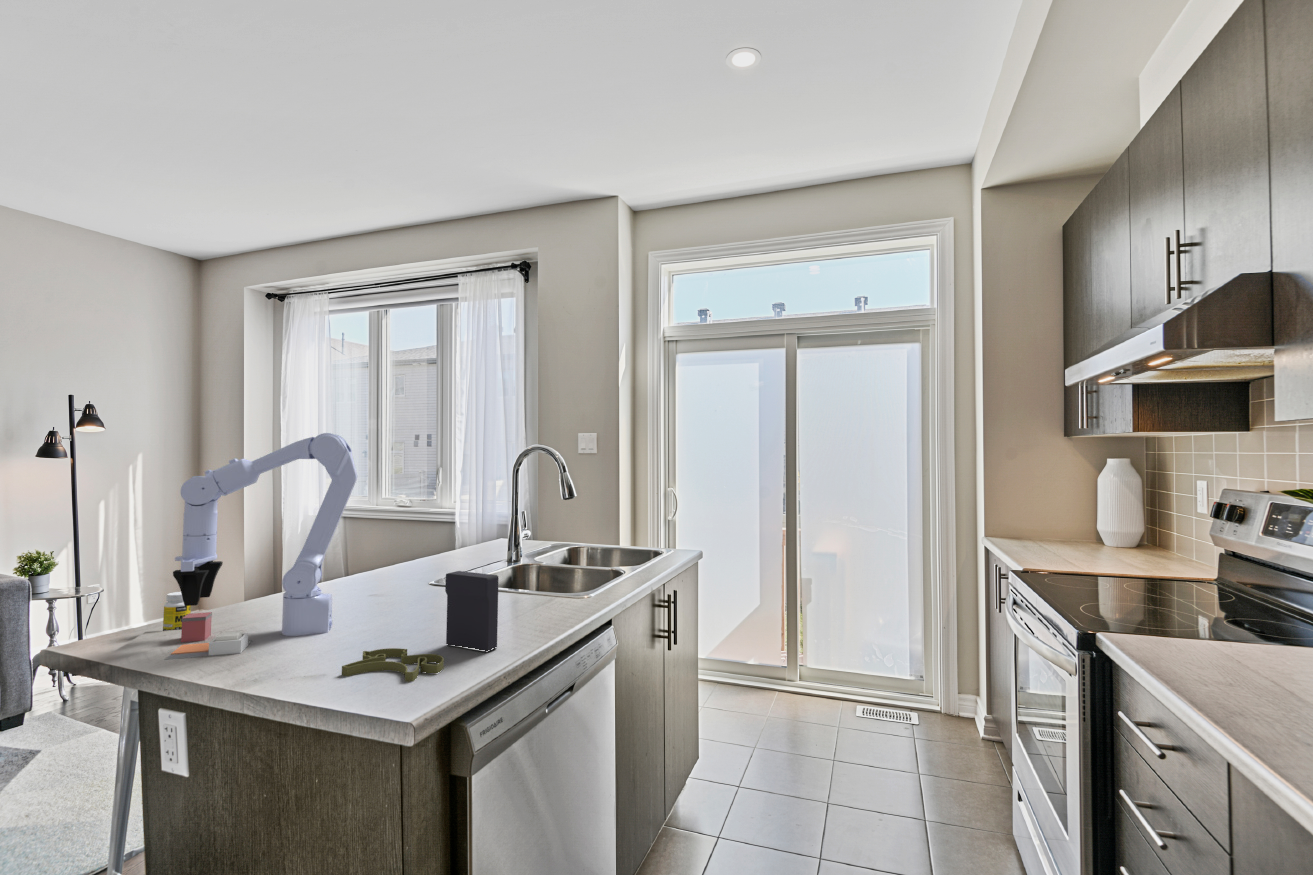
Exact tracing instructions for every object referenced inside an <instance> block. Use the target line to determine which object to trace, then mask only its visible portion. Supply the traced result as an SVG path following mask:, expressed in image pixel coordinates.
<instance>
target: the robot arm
mask: <svg viewBox="0 0 1313 875" xmlns="http://www.w3.org/2000/svg"><path fill="white" fill-rule="evenodd" d="M297 460H317V461H318V462H319V464H321V465H322V466H323V467H324V469H325V470H326V472H327V474H328V475H329V477H330V479H331V481H330V484H329V487H328V488H327V491H326V494H325V495H324V498H323V500H322V502H321V505H320V507H319V509H318V512H317V515H316V517H315V519H314V520H313V524H312V526H311V528H310V530H309V533H308V534H307V537H306V539H305V541H304V544H303V547H302V549H301V551H300V552H299V555H298V556H297V558H296V560H295V562H294V564H293V566H292V567H291V568H290V569H288V571H286V572H285V573H284V575H283V577H282V581H281V585H282V588H283V590H284V591H285V592H284V593H282V596H283V597H282V615H281V616H282V617H281V618H282V620H281V622H282V623H281V624H282V625H281V634H282V635H284V636H287V637H290V636H292V637H293V636H294V637H296V636H297V637H298V636H306V635H315V634H326V633H329V631H330V629H332V628H333V594H332V593H324V592H323V593H322V589H321V588H320V587H319V586H318V584H319V583H320V582H321V580H322V579H323V578H322V577H323V569H322V568H323V563H324V561H325V557H326V555H327V551H328V549H329V547H330V544H331V542H332V540H333V537H334V535H335V532H336V530H337V527H338V526H339V523H340V520H341V518H342V516H343V514H344V511H345V508H346V506H347V504H348V501H349V499H350V497H351V495H352V493H353V490H354V488H355V485H356V483H357V480H358V472H357V469H356V468H357V467H356V464H355V461H354V456H353V450H352V448H351V446H350V445H349V444H348V442H347V440H346V439H345V438H344V437H342V436H341V435H339V434H334V433H331V432H323V433H320V434H317V436H311V437H307V438H303V439H301V440H297V441H294V442H292V443H290V444H287V445H285V446H283V447H281V448H279V449H276V450H274V451H272V452H270V453H268V454H265V455H263V456H262V457H261V456H260V457H259V458H256V459H254V460H249V459H247V458H240V459H238V458H232V459H230V460H228V464H226V465H223V466H221V467H218V468H216V469H213V470H212V469H207V470H205V471H204V475H194V476H191V477H190V478H189V479H187V480H186V481H185V482H183V483H182V486H181V488H180V496H181V498H182V500H183V501H184V512H183V524H182V551H181V552H182V553H181V555H180V556H179V555H178V556H175V557H174V561H175V562H180V569H176V570H173V571H172V577H173V578H174V579H175V581H176V582H177V584H178V586H179V590H180V592H181V594H182V598H183V602H184V605H185V606H191V607H192V606H197V605H199V602H200V599H202V598H210V596H211V594H212V592H213V589H214V584H215V580H216V578H217V575H218V573H219V571H220V569H221V568H222V566H223V561H222V560H221V561H216V560H217V559H218V554H217V543H218V542H217V541H218V518H219V517H218V514H219V512H218V505H219V504H218V501H219V499H220V498H221V497H223V496H224V497H225V496H228V495H230V494H232V493H235V492H237V491H240V490H241V489H244V488H246V487H250V486H252V485H254V484H255V483H257V481H258V479H259V478H260V476H261V474H263V473H266V472H269V471H272V470H274V469H276V468H279V467H282V466H284V465H287V464H290V463H292V462H294V461H295V462H296V461H297Z"/></svg>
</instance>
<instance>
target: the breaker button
mask: <svg viewBox="0 0 1313 875" xmlns="http://www.w3.org/2000/svg"><path fill="white" fill-rule="evenodd" d="M243 633H244V632H243V630H232V631H220V632H219V633H217V635H216V636H215V637H214V638H215V641H228V640H239V639H240V638H241V637H242V635H243Z"/></svg>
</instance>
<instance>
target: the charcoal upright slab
mask: <svg viewBox="0 0 1313 875" xmlns="http://www.w3.org/2000/svg"><path fill="white" fill-rule="evenodd" d="M444 590H445V593H446V595H447V596H446V630H445V631H446V632H445V633H446V636H445V637H446V639H445V640H446V641H445V644H448V645H455V646H462V647H468V648H475V649H479V650H485V651H488V650H491V649H492V648H495V647H497V648H498V615H499V613H498V612H499V576H498V575H497V574H489V573H481V572H479V573H478V572H471V571H461V570H456V571H453V572H447V573H446V574H445V589H444Z"/></svg>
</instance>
